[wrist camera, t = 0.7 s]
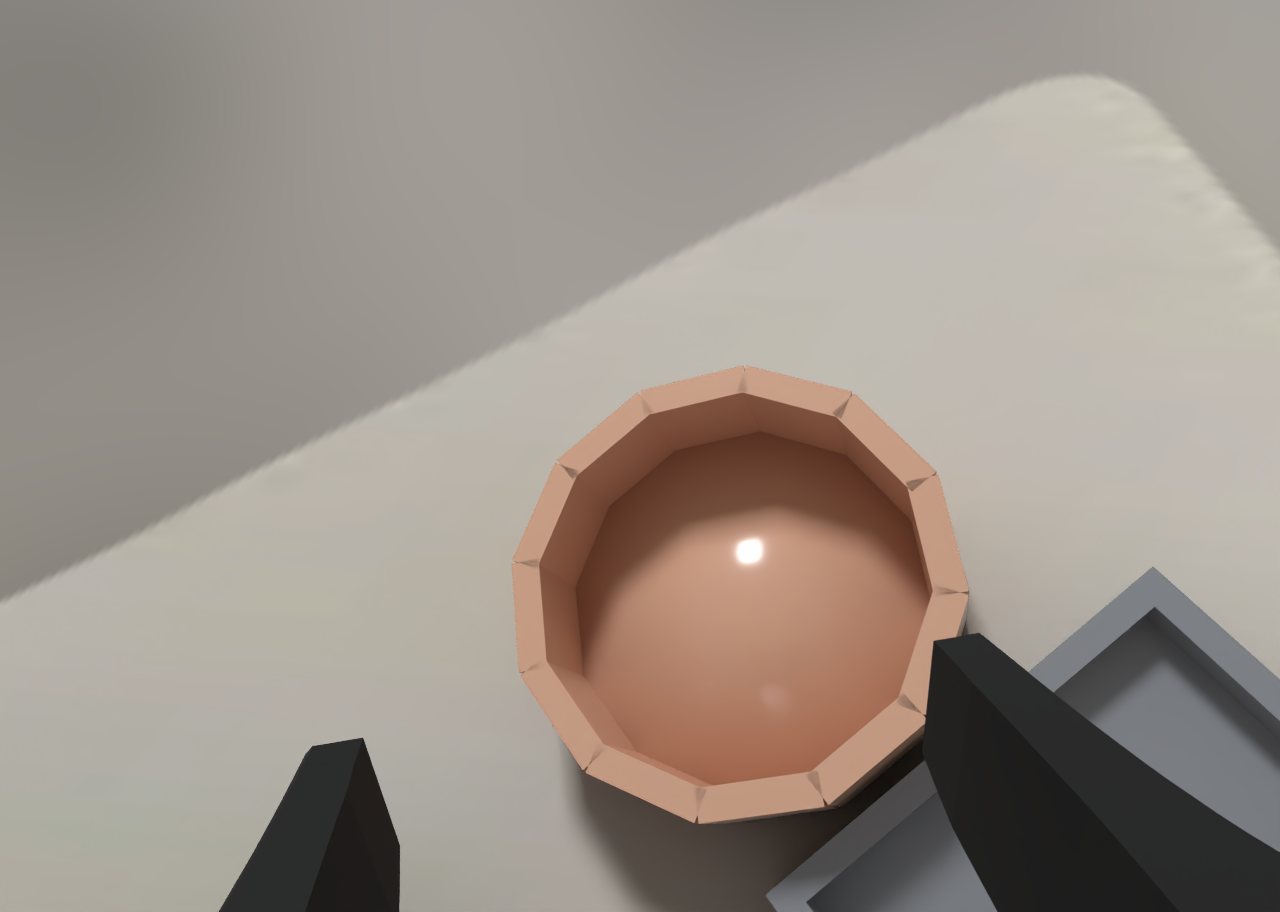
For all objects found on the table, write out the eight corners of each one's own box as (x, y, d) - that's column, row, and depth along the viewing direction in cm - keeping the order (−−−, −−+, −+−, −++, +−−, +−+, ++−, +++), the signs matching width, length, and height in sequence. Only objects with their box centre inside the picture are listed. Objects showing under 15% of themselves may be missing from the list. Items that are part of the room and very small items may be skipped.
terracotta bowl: (1053, 627, 25) (1070, 600, 22) (717, 912, 25) (685, 925, 22) (772, 350, 30) (752, 295, 27) (493, 584, 30) (441, 557, 27)
